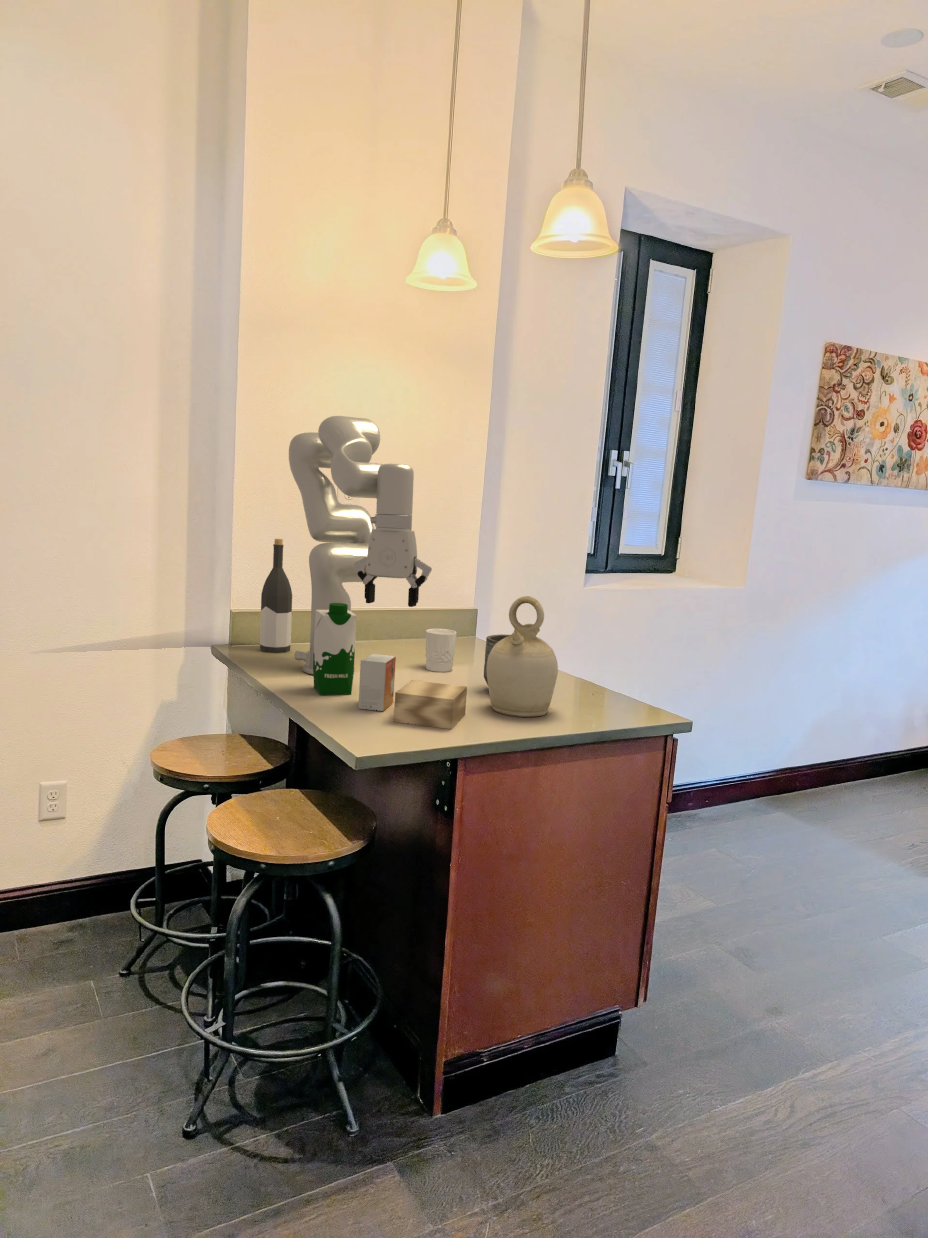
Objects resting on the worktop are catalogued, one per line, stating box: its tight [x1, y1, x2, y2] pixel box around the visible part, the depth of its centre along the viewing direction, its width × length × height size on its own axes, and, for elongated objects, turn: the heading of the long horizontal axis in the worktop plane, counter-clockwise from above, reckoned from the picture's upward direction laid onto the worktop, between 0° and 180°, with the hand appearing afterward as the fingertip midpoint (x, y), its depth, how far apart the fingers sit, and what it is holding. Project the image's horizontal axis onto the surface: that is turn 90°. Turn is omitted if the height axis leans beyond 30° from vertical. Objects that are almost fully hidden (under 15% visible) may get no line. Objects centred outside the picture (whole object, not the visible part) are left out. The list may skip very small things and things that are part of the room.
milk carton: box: [312, 603, 357, 696], centre depth 196 cm, size 9×9×20 cm
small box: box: [358, 653, 397, 712], centre depth 187 cm, size 8×6×10 cm
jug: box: [486, 595, 559, 718], centre depth 190 cm, size 15×16×25 cm
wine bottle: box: [259, 538, 293, 654], centre depth 236 cm, size 8×8×30 cm
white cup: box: [425, 628, 457, 673], centre depth 227 cm, size 8×8×10 cm
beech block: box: [393, 679, 468, 730], centre depth 180 cm, size 12×12×6 cm
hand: (391, 604), depth 187 cm, fingers open, 9 cm apart
